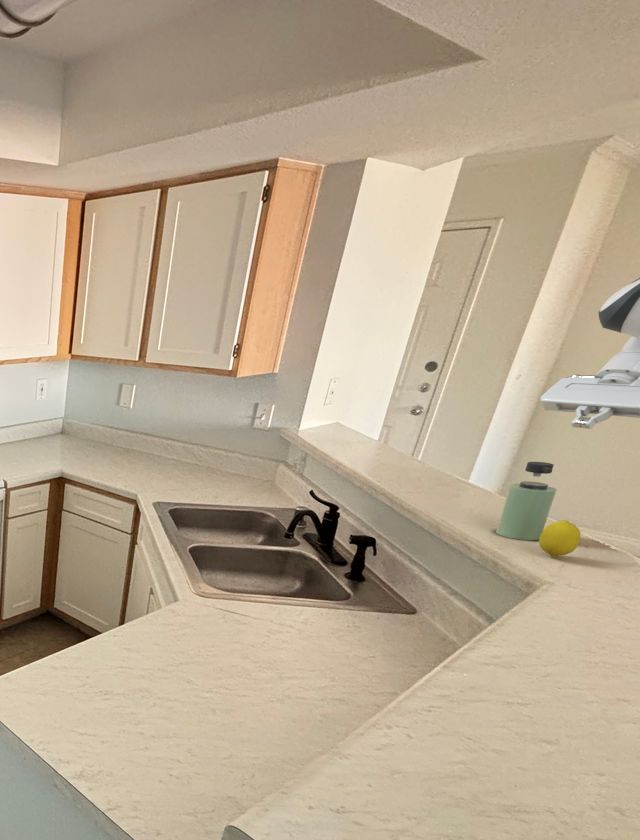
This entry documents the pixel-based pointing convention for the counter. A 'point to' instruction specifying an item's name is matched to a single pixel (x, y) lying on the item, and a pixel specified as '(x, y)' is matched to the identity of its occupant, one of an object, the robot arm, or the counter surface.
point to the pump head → (539, 468)
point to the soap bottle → (526, 510)
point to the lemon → (559, 538)
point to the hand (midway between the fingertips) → (580, 426)
